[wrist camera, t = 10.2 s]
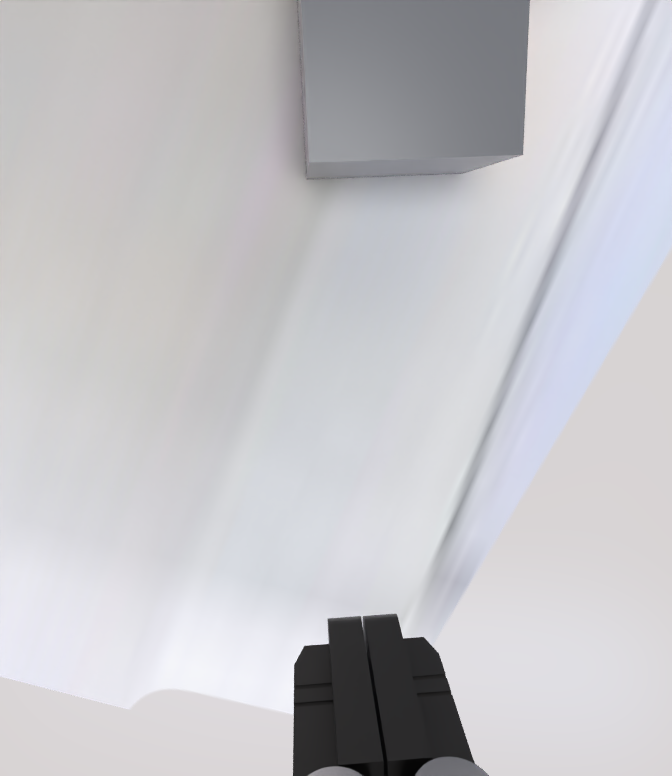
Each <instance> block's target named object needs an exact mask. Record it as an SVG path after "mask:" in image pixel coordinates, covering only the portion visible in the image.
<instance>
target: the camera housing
mask: <svg viewBox="0 0 672 776" xmlns="http://www.w3.org/2000/svg"><path fill="white" fill-rule="evenodd" d="M297 3H298V22H299V42H300V61H301V81H302V100H303V120H304V139H305V159H306V178H307V179H328V178H354V177H379V176H405V175H431V174H457V173H465V172H469V171H472V170H475V169H478V168H482V167H485V166H488V165H491V164H495V163H498V162H501V161H504V160H508V159H511V158H514V157H517V156H521V155H523V140H524V118H525V95H526V72H527V49H528V26H529V3H530V0H297Z"/></svg>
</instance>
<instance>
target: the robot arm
mask: <svg viewBox="0 0 672 776" xmlns="http://www.w3.org/2000/svg"><path fill="white" fill-rule="evenodd" d="M328 636H329V644H324V645H311V646H304V648H303V650H302V652H301V654H300V655H299V657H298V659H297V661H296V663H295V665H294V748H293V753H294V754H293V776H489V775H488V774H487V773H486V772H485V771H484V770H483V769H481V768H480V767H479V766H477V765H476V764H475V763H474V760H473V758H472V755H471V752H470V748H469V745H468V743H467V739H466V736H465V733H464V730H463V727H462V724H461V721H460V718H459V714H458V711H457V708H456V705H455V702H454V699H453V696H452V695H451V690H450V687H449V684H448V681H447V678H446V676H445V671H444V668H443V665H442V662H441V659H440V656H439V653H438V652H437V651H436V650H435V649H434V648H433V647H432V646H431V645H430V644H429V643H428V641H427V640H426V639H425V638H424V637H419V638H405V639H403V637H402V633H401V629H400V625H399V621H398V617H397V614H386V615H372V616H363V627H362V621H361V616H357V617H343V618H330V619H328Z"/></svg>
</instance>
